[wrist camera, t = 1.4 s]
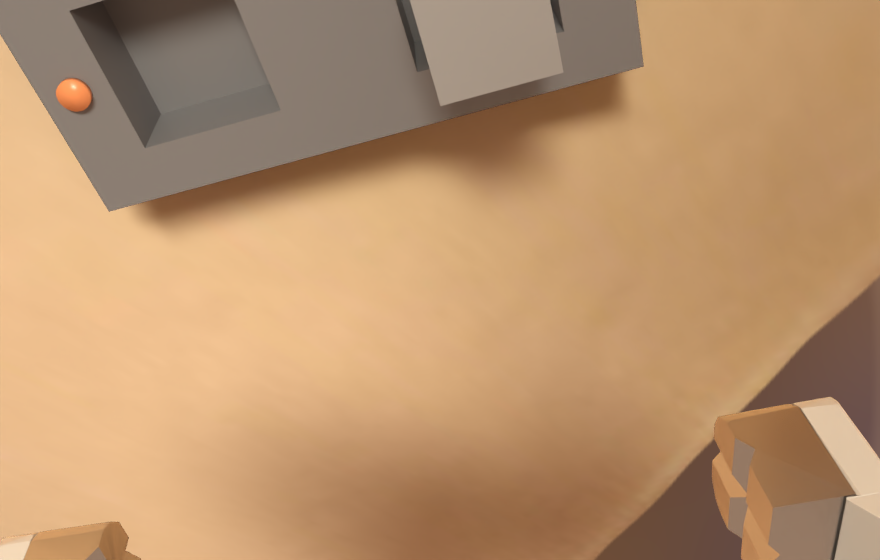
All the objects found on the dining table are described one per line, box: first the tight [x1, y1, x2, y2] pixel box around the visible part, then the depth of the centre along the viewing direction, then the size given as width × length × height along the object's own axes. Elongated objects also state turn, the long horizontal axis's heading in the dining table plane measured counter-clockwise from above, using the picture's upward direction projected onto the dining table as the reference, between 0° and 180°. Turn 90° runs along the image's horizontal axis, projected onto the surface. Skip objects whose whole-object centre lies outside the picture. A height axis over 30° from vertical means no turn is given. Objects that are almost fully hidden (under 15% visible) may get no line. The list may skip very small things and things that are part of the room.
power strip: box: [0, 0, 644, 211], centre depth 31 cm, size 22×10×4 cm, turn 105°
